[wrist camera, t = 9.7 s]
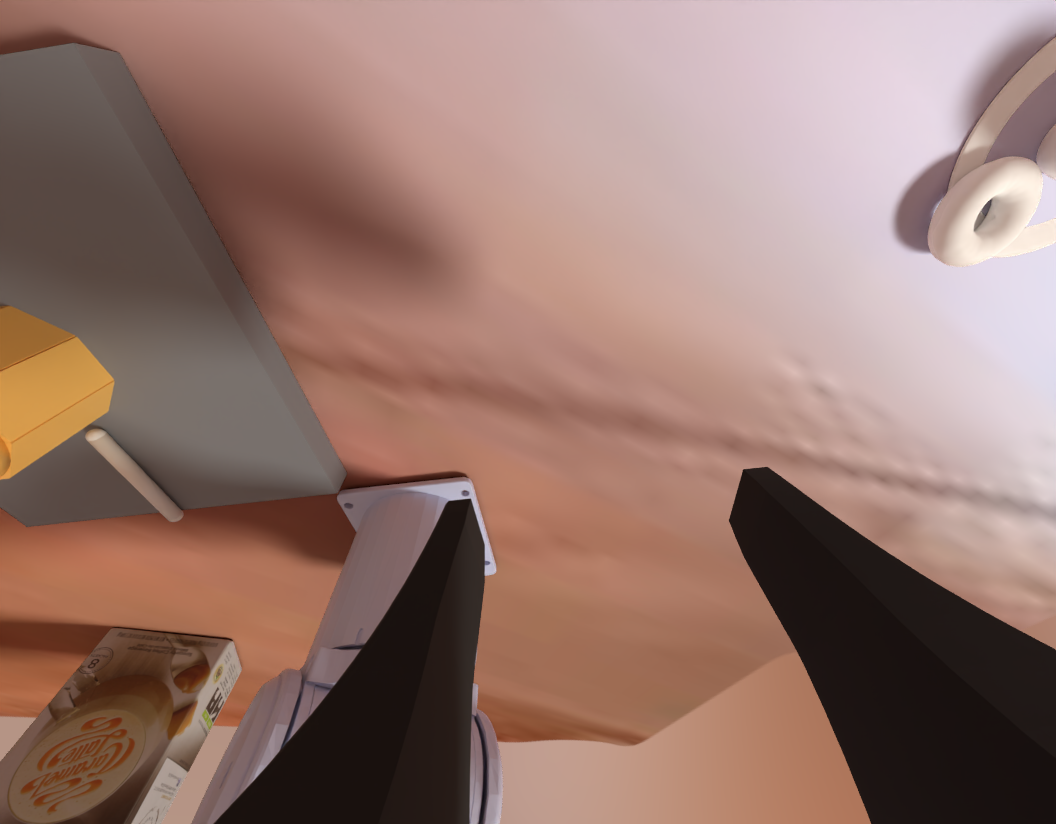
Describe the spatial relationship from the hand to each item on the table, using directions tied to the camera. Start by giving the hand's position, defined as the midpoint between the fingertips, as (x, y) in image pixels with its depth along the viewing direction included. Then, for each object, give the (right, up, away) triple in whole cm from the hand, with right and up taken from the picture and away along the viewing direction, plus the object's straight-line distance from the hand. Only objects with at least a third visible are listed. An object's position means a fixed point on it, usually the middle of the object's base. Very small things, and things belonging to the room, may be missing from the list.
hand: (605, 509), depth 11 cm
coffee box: (-32, -18, +23) cm, 44 cm away
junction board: (-22, +5, +7) cm, 24 cm away
